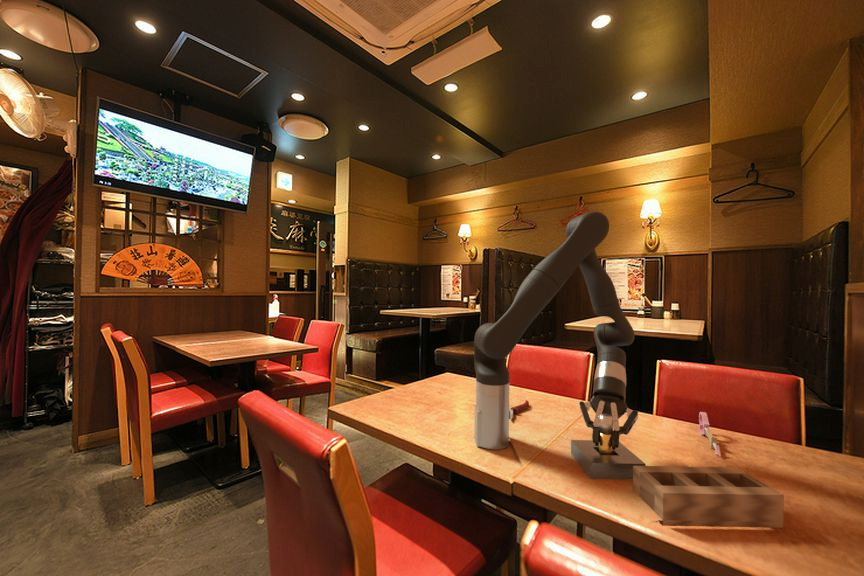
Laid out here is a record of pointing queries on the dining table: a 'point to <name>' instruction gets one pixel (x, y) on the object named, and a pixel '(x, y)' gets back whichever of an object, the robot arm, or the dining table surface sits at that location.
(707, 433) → the decorative key
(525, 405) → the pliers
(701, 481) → the vial rack
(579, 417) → the dining table surface
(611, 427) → the gold clear cylinder
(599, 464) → the socket block
